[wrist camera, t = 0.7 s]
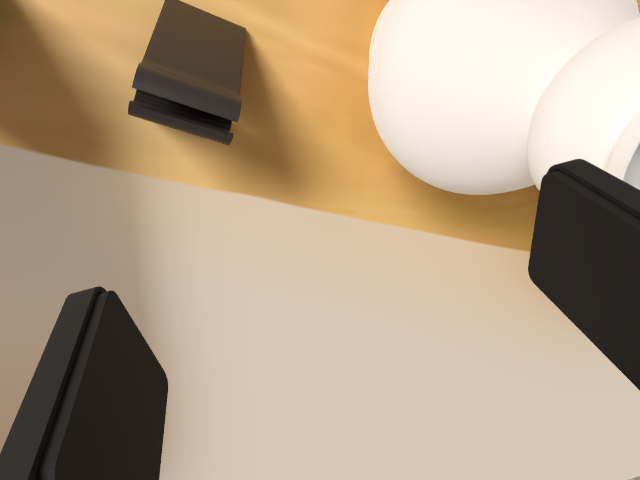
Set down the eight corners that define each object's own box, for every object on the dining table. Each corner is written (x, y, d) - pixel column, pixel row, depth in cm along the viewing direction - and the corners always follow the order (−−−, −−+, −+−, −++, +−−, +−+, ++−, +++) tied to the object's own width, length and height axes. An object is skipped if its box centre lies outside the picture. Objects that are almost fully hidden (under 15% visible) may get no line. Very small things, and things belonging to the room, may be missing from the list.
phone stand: (167, -6, 31) (146, 9, 21) (245, 28, 33) (259, 55, 24) (143, 110, 35) (115, 167, 25) (214, 133, 37) (215, 193, 28)
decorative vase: (449, 173, 45) (648, 350, 24) (303, 98, 37) (412, 262, 17) (568, 4, 38) (989, 53, 17) (417, -130, 30) (841, -323, 10)
